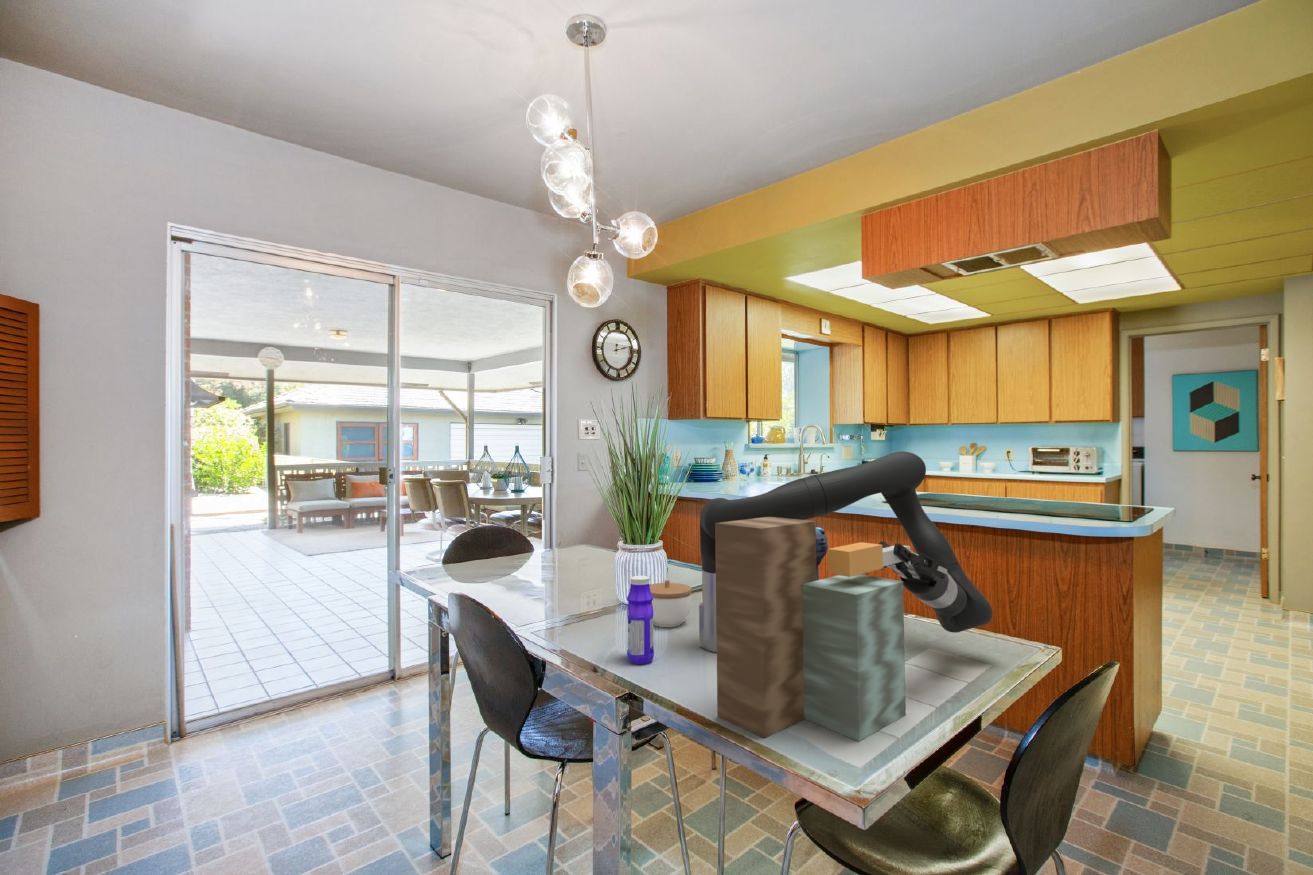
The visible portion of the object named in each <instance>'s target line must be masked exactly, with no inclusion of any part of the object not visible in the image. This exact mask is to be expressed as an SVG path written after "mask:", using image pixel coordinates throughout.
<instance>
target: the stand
mask: <svg viewBox="0 0 1313 875" xmlns="http://www.w3.org/2000/svg"><path fill="white" fill-rule="evenodd" d="M816 526H817V522H816V521H815V520H809V519H806V520H798V519H788V518H778V517H763V518H754V519H746V520H737V521H729V522H721V523H715V556H716V636H717V652H716V694H717V697H716V698H717V699H716V700H717V704H716V706H717V708H716V709H717V711H716V712H717V717H718V718H719V719H722V720H724V721H727V722H728V723H731V724H733V725H735V726H737V727H740V728H742V729H743V730H746V731H748V732H750V733H752V734H754V735H756V736H759V737H761V738H763V739H766V738H768V737H770V736H772V735H774V734H776V733H778V732H781V731H783V730H784V729H787V728H788V727H791V726H793V725H795V724H797V723H799V722H801V721H803V720H806V721H808V722H811V723H812V724H816V725H818V726H820V727H822V728H825V729H827V730H830V731H832V732H834V733H837V734H839V735H842V736H845V737H846V738H850V739H852V740H854V741H856V742H861V741H863V740H864V739H866V738H868V737H870V736H871V735H873V734H875V733H877V732H878V731H880V730H882V729H883V728H885V727H887V726H888V725H891V724H892V723H893V722H896V721H897V720H899V719H901V718H902V717H905V716H906V715H907V714H906V710H907V707H906V706H907V704H906V703H907V702H906V665H905V663H906V661H905V659H906V657H905V619H904V618H905V612H904V609H905V608H904V607H905V606H904V605H905V604H904V603H905V602H904V585H903V581H901V580H898V579H897V580H896V579H892V578H886V577H879V576H873V575H867V574H860V575H856V576H852V577H846V576H841V575H834V576H830V577H826V578H821V579H818V580H817V574H816Z"/></svg>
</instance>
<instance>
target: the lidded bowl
mask: <svg viewBox="0 0 1313 875" xmlns="http://www.w3.org/2000/svg"><path fill="white" fill-rule="evenodd" d="M649 585H650V591H651V594H652V596H653V600H652V605H653V625H654V624H655V625H657V626H656V627H658V626H659V628H665V627H667V628H668V629H669V628H677V627H679V625H680V624H681V625H683V624H682V623H683V622H684V621H685V620H686V618H687V617H688V616H689V614H690V610H691V608H692V606H691V605H692V593H693V588H692V587H691V586H690V585H688V584H685V583H678V582H671V581H670V580H669V579H664V582H657V583H656V582H655V583H651V584H650V583H649ZM655 625H654V626H655ZM681 625H680V626H681ZM676 626H677V627H676Z"/></svg>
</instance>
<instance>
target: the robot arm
mask: <svg viewBox="0 0 1313 875" xmlns="http://www.w3.org/2000/svg"><path fill="white" fill-rule="evenodd" d="M926 473H927V467H926V464H925V461H924V460H923V459H922V458H921V457H920V456H919V455H917V454H915V453H912V452H909V451H905V450H904V451H896V452H895V451H894V452H891V453H889V454H886V455H884V456H881V457H877V458H876V459H873V460H870V461H868V462H864V463H861V464H859V465H855V466H850V467H844V468H839V469H835V470H830V471H826V472H823V473H819V474H817V473H816V474H814V475H810V476H804V477H801V478H798V479H795V480H791V481H788V482H786V483H784V484H782V485H779V486H777V487H775V488H773V489H771V490H769V491H767V492H764V493H762V494H758V495H753V496H750V497H748V496H747V497H744V498H736V499H728V498H724V497H715V498H712V499H710V500H708V501H707V502H705V504H704V505H703V506H702V508H701V511H700V514H699V515H700V516H699V543H700V545H699V546H700V547H699V548H700V557H701V560H700V561H701V576H702V577H701V588H702V593H701V594H702V599H701V600H702V602H701V603H699V605H698V634H699V635H698V637H699V639H698V641H699V642H698V643H699V645H698V646H699V648H703V649H705V650H707V651H709V652H713V653H717V636H716V556H715V523H721V522H729V521H737V520H746V519H754V518H763V517H778V518H788V519H798V520H810V519H814V518H817V517H821V516H822V517H823V516H826V515H830V514H831V513H835V512H837V511H840V510H842V509H844V508H847V507H848V506H850V505H852V504H854V503H857V502H858V501H860V500H863V499H864V498H867V497H870V496H873V495H877V494H881V496H882V497H883V498H884V500H885V501H886V503H887V504H888V506H889V507H890V509H891V510H892V512H893V513H894V514H895V516H896V518H897V519H898V521H899V523H900V524H901V526H902V528H903V530H904V531H905V533H906V534H907V537H908V539H909V541H910V542H911V544H912V546H913V548H914V550H915V551H913V550H911V549H910V550H908V549H907V548H905V547H904V546H905V545H904V546H903V544H902V543H900V542H895V543H894V545H895V546H894V545H893V546H894V552H893V553H894V555H895V556H897V557H898V558H899V559H900V560H901V561H902V562H899V563H895V564H891V565H887V566H883V568H882V569H879V570H881V571H882V570H883V571H884V570H885V569H887V568H890V569H891V570H892V572H893V573H895V574H896V575H899V578H900V581H903V588H905V589H906V590H907V591H909V592H910V593H911V594H912V595H913V596H915V597H916V598H917V599H918V600H919V601H921V602H922V603H924V604H925V605H927V606H929V607H930V608H931V609H933V610H934V611H935V614H936V618H937V621H938V623H939V624H940V627H942V628H943V630H944V631H946V632H949V633H956V634H957V633H961V632H964V631H968V630H972V629H975V628H978V627H981V626H984V625H988V624H990V622H991V621H992V618H993V609H992V606H991V604H990V602H989V601H988V600H987V598H986V597H985V596H984V595H983V594H982V592H981V591H980V590H979V589H978V588H977V587H976V586H975V585H974V583H973V582H972V580H970V578H969V577H968V576H967V574H966V573H965V571H964V570H963V568H962V566H961V564H960V562H959V560H958V558H957V556H956V554H955V553H956V552H955V551H954V550H953V548H952V546H951V544H950V543H949V541H948V539H947V537H945V535H944V534H943V532H942V531H941V530H940V529H939V528H938V527H937V525H935V524H934V523H933V521H932V520H931V519H930V518H929V516H928V515H927V513H926V512H925V511H924V508H923V506H922V505H921V503H920V500H919V498H918V495H917V492H916V490H917V488H918V487H919V486H920V485H922V483H923V481H924V479H925V478H926V475H927V474H926ZM878 544H881V545H882V548H886V547H890V546H891V545H889V543H887V542H886V541H883V540H881V541H879V543H878Z"/></svg>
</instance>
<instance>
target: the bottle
mask: <svg viewBox="0 0 1313 875" xmlns="http://www.w3.org/2000/svg"><path fill="white" fill-rule="evenodd" d="M629 579H630V581H629V582H630V588H629V592H628V595H627V596H626V602H628V603H627V608H626V616H627V650H626V655H627V659H628V661H629V663H632V664H635V665H639V664H641V665H642V664H649V663H651V662H652V661H653V659H654V655H655V650H654V646H655V645H654V623H653V605H652V600H653V596H652V594H651V591H650V576H646V575H634V576H631V577H630V578H629Z"/></svg>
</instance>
